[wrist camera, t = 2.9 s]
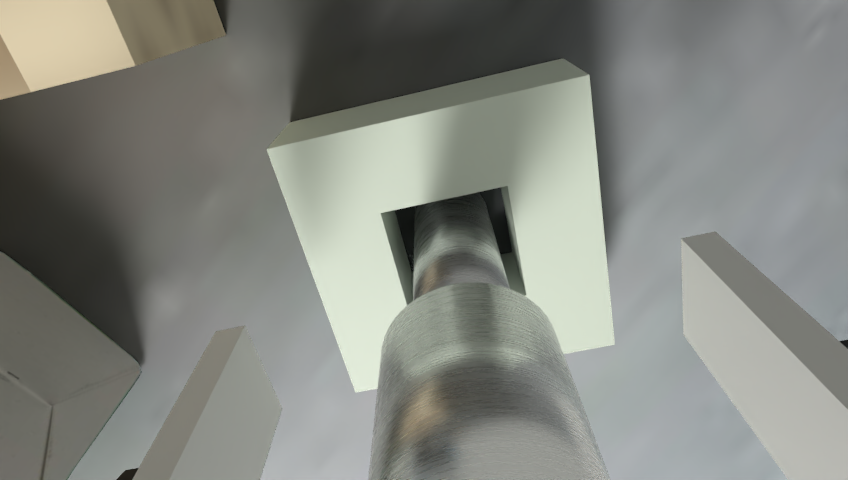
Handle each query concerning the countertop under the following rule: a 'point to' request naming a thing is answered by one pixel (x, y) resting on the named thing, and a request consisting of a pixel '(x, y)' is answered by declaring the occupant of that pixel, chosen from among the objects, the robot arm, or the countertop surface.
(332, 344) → the countertop surface
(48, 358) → the box
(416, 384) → the silver peg
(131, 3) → the block
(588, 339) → the stand
